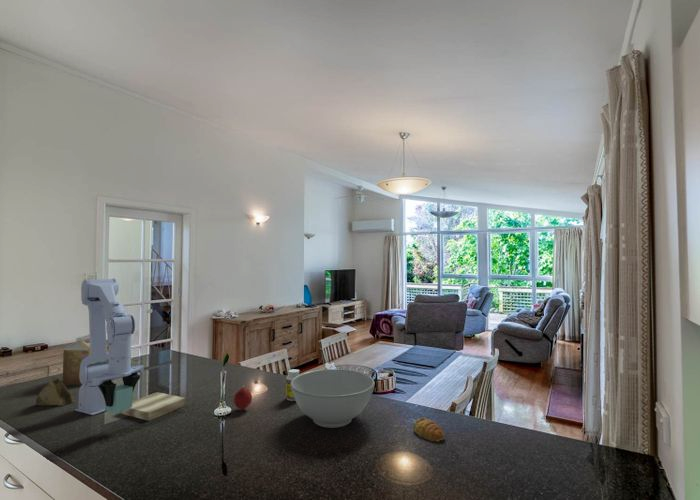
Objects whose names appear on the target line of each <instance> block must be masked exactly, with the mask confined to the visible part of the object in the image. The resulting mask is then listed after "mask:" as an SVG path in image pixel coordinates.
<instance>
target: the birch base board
mask: <svg viewBox="0 0 700 500" xmlns="http://www.w3.org/2000/svg"><path fill="white" fill-rule="evenodd" d="M186 398H187V397H183V396H178V395H173V394H167V393H163V392H158V391H157V392H153V393H151V394H149V395H146V396H142V397H140V398H137V399H135V400H132V407H131V408H128V409H125V410H123V411H120V412H119V414H120V415H125V416H129V417H132V418H136V419H141V420H144V421H148V422H150V421H152V420H155V419H158V418H159V417H162V416H163V415H165V414H168V413H170V412H173V411H176V410H177V409H180V408H182V407H185V406H186V401H187V400H186Z"/></svg>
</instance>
